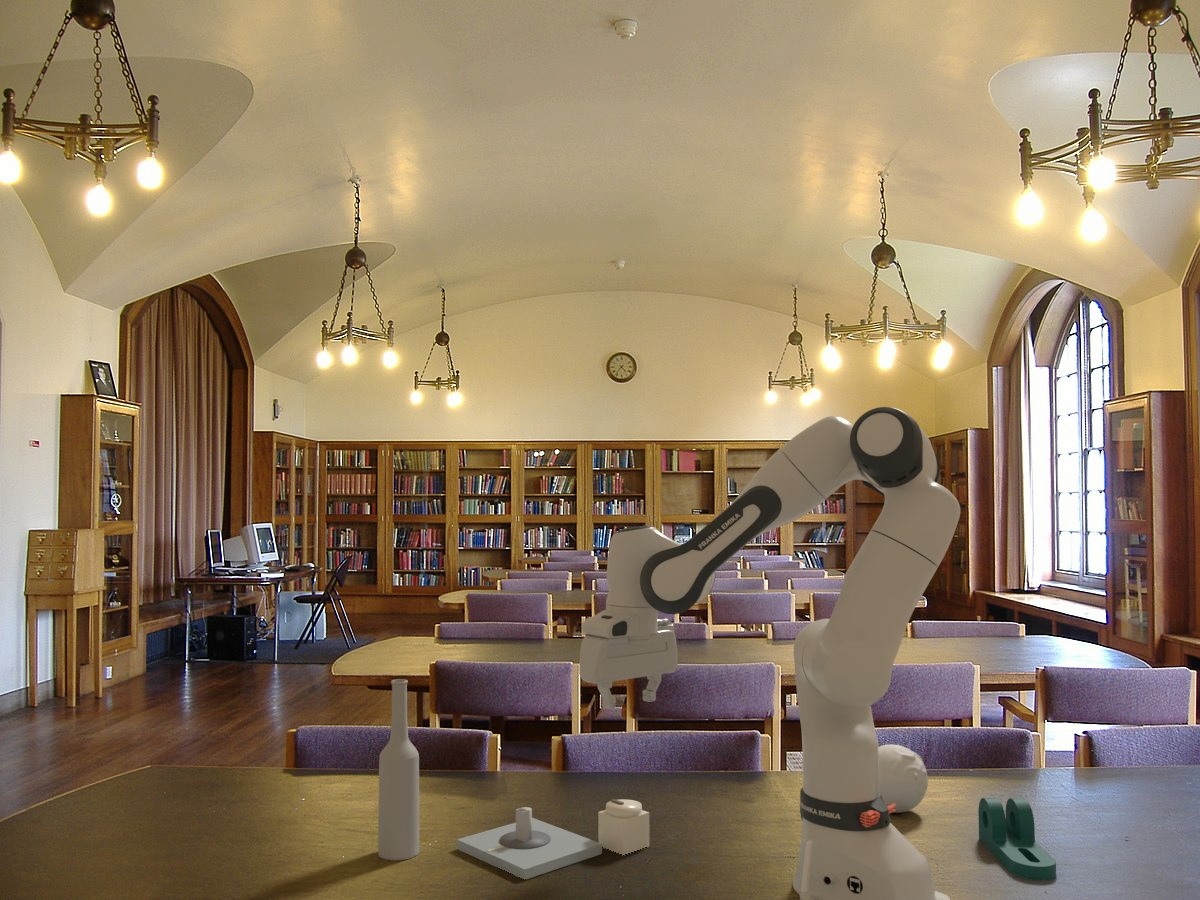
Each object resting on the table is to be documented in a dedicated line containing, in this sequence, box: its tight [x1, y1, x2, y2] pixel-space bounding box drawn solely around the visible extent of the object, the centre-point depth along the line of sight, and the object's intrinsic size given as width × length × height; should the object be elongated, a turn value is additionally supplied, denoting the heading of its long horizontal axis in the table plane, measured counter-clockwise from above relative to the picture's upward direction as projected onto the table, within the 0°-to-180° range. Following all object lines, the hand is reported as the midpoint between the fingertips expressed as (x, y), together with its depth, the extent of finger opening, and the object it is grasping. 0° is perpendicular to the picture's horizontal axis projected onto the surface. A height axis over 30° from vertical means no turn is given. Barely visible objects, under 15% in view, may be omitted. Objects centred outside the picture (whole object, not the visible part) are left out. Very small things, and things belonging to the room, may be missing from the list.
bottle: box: [377, 678, 420, 862], centre depth 163 cm, size 7×7×28 cm
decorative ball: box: [878, 743, 929, 814], centre depth 183 cm, size 12×12×12 cm
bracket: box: [978, 797, 1057, 881], centre depth 159 cm, size 18×7×8 cm, turn 177°
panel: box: [456, 806, 603, 881], centre depth 163 cm, size 18×16×7 cm
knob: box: [597, 798, 650, 856], centre depth 165 cm, size 6×6×7 cm
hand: (629, 704), depth 167 cm, fingers open, 8 cm apart
